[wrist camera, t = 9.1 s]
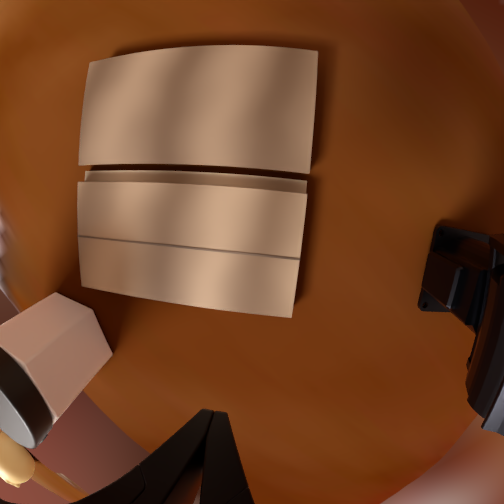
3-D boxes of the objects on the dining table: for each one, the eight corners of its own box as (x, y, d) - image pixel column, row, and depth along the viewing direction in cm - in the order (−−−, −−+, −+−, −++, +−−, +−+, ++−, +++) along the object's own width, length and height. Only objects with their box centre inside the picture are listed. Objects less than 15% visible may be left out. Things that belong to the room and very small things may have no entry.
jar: (46, 349, 24) (-22, 409, 12) (41, 281, 22) (-52, 333, 10) (113, 384, 24) (52, 469, 12) (115, 316, 22) (23, 402, 10)
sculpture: (-3, 427, 34) (-27, 453, 23) (7, 422, 31) (-21, 452, 21) (31, 464, 36) (11, 491, 25) (47, 464, 33) (24, 496, 23)
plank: (315, 57, 15) (318, 51, 14) (307, 173, 18) (309, 173, 17) (98, 66, 16) (89, 62, 15) (87, 164, 19) (78, 165, 17)
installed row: (306, 181, 18) (308, 180, 17) (290, 308, 20) (291, 318, 19) (89, 171, 19) (78, 171, 18) (91, 280, 21) (81, 286, 20)
